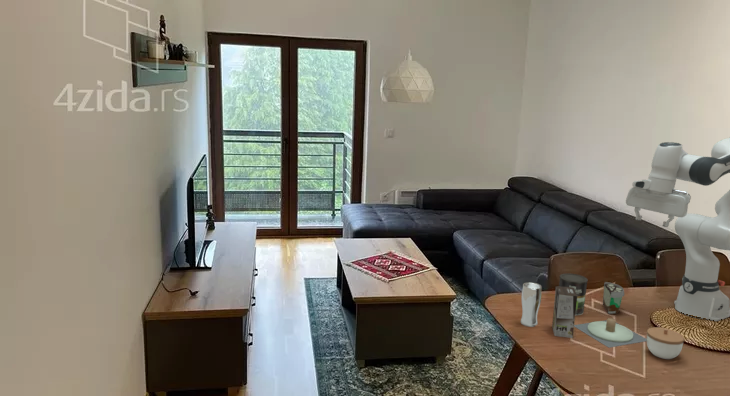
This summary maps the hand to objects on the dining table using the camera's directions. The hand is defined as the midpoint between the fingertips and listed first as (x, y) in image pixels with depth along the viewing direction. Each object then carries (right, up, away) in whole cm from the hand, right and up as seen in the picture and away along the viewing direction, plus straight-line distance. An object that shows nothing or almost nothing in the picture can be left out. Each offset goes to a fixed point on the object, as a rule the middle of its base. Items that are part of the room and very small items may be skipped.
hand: (651, 223), depth 194 cm
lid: (-17, -39, -3) cm, 43 cm away
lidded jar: (-6, -43, -18) cm, 47 cm away
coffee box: (-34, -40, -3) cm, 52 cm away
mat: (-17, -40, -3) cm, 43 cm away
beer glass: (-44, -38, +4) cm, 58 cm away
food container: (-6, -36, +17) cm, 40 cm away
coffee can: (-24, -36, +16) cm, 46 cm away
